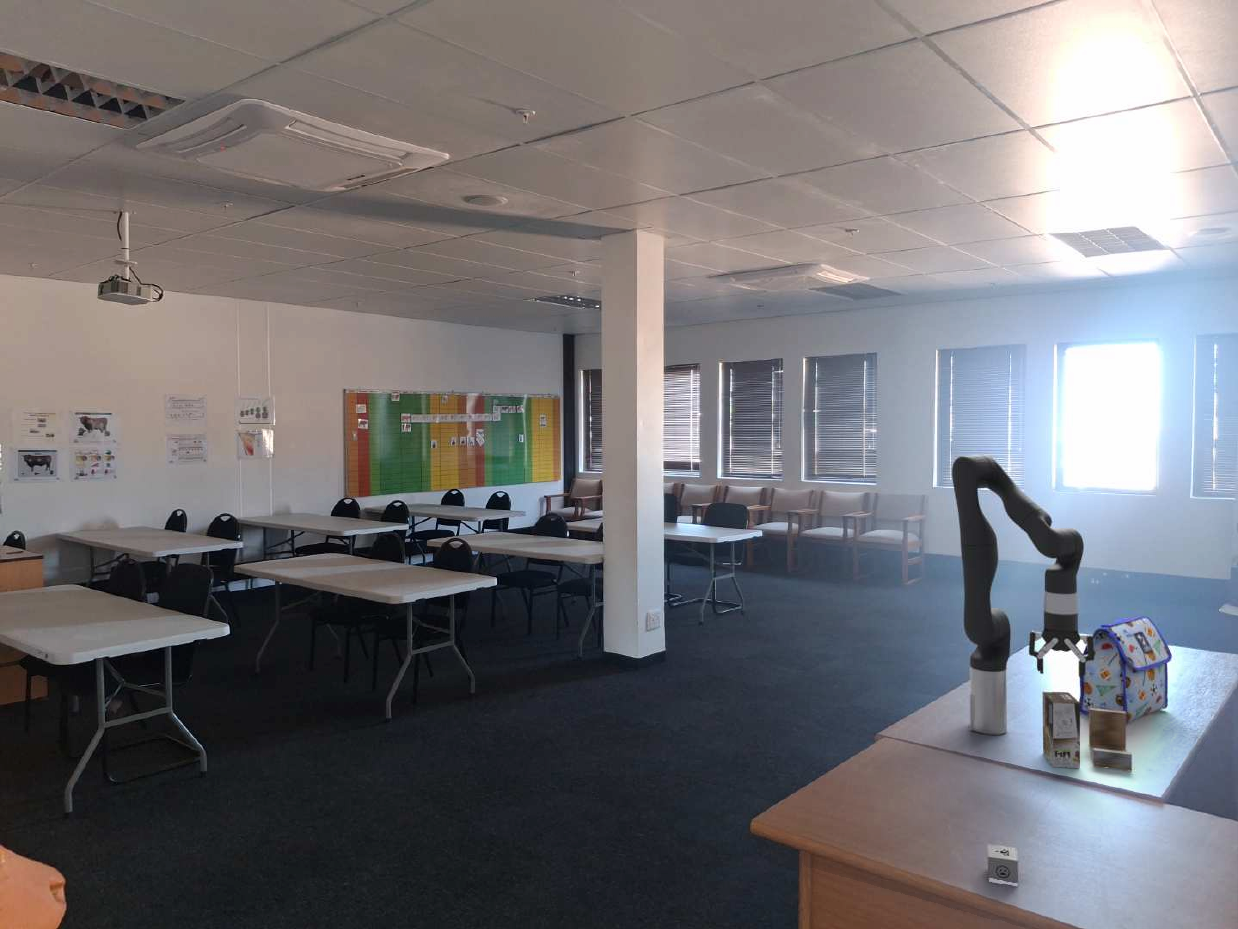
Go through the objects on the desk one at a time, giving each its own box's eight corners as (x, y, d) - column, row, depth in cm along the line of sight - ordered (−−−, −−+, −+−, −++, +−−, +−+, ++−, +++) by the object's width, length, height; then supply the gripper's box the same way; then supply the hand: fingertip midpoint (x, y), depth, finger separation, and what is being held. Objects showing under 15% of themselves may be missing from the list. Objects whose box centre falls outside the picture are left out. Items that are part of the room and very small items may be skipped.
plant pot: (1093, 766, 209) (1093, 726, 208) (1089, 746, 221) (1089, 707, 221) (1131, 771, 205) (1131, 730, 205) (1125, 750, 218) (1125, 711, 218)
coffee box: (1081, 769, 208) (1081, 703, 207) (1052, 767, 209) (1052, 702, 208) (1069, 754, 216) (1069, 691, 216) (1042, 753, 218) (1041, 690, 217)
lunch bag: (1134, 730, 232) (1134, 632, 230) (1074, 713, 246) (1074, 620, 245) (1177, 713, 244) (1177, 619, 242) (1118, 698, 258) (1118, 609, 256)
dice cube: (1018, 887, 157) (1017, 861, 157) (988, 883, 159) (988, 856, 158) (1016, 874, 162) (1016, 848, 161) (987, 869, 163) (987, 844, 163)
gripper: (1028, 611, 210) (1029, 676, 211) (1095, 615, 204) (1095, 682, 205) (1028, 604, 217) (1028, 668, 218) (1092, 608, 211) (1092, 673, 212)
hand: (1061, 674), depth 212 cm, fingers open, 8 cm apart
